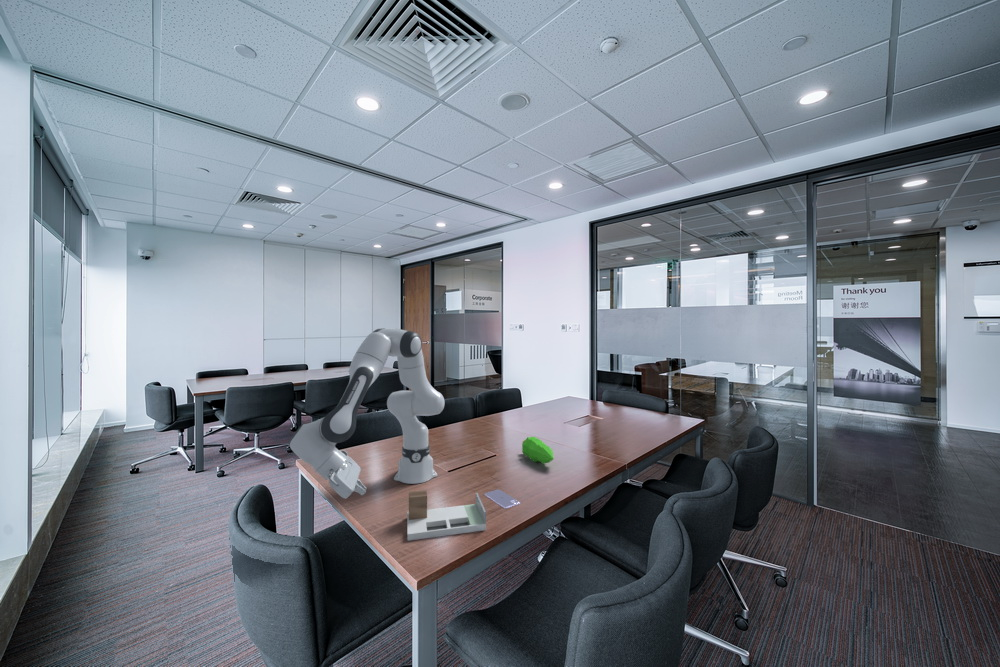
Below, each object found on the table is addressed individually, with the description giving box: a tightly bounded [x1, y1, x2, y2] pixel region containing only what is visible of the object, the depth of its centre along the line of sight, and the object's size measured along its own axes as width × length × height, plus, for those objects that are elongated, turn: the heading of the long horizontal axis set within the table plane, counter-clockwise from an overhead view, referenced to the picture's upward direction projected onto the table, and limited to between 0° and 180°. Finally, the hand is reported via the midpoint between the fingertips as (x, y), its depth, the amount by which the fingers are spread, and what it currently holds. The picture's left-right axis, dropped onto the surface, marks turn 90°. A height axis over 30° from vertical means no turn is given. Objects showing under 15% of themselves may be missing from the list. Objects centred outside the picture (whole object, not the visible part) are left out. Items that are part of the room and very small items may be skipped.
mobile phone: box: [484, 489, 521, 509], centre depth 145 cm, size 8×1×15 cm
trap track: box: [406, 492, 487, 541], centre depth 126 cm, size 15×25×6 cm, turn 104°
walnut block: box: [408, 489, 428, 520], centre depth 127 cm, size 5×6×8 cm
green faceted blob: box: [521, 436, 554, 465], centre depth 186 cm, size 11×12×30 cm
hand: (364, 492), depth 123 cm, fingers closed
